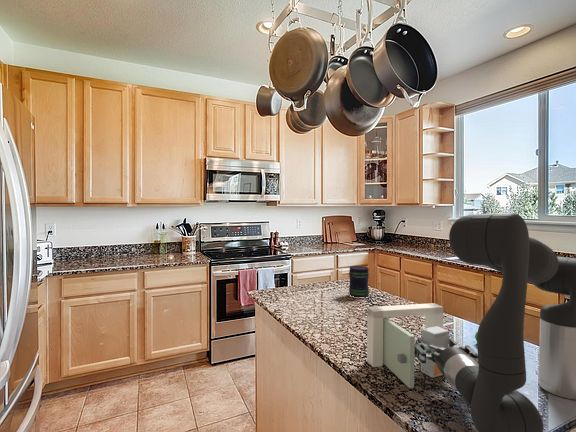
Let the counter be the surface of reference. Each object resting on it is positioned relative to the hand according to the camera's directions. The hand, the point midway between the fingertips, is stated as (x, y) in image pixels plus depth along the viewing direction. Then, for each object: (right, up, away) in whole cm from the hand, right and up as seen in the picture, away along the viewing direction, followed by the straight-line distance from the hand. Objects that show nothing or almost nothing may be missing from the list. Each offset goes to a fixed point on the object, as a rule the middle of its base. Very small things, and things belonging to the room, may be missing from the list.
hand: (434, 342), depth 90 cm
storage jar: (-4, -7, +78) cm, 78 cm away
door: (-12, -8, -1) cm, 14 cm away
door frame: (-6, -8, +7) cm, 12 cm away
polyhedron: (+25, -8, +19) cm, 32 cm away
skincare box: (0, -9, 0) cm, 9 cm away
